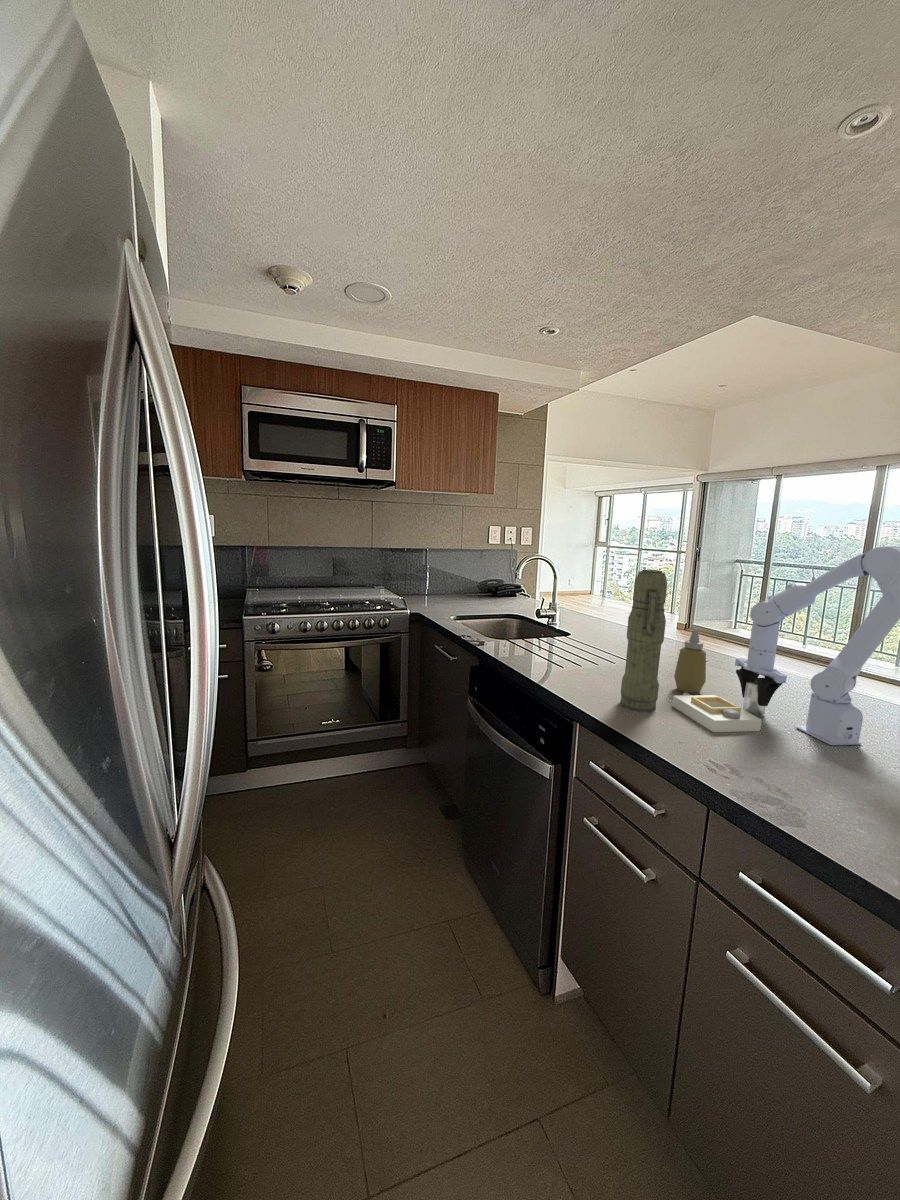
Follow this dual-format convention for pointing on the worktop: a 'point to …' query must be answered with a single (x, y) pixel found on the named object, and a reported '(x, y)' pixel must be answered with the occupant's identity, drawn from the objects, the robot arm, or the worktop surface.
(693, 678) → the squeeze bottle
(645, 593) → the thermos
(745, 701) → the spout can
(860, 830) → the worktop surface
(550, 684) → the worktop surface
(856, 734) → the robot arm
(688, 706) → the white holder tray
